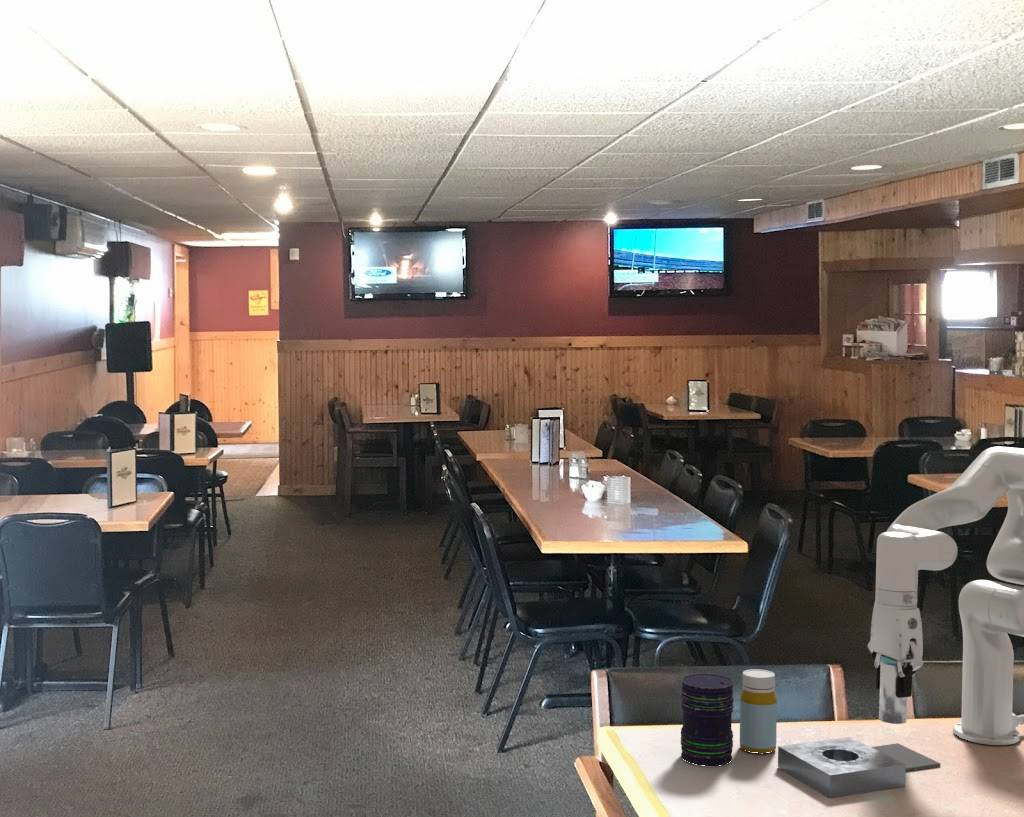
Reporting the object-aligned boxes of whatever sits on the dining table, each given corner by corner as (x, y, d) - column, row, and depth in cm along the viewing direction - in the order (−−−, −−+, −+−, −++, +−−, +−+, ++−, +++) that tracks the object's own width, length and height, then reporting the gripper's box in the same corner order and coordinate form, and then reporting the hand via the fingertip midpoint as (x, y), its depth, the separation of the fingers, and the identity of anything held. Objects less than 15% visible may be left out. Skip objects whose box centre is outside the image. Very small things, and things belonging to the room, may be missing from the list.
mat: (898, 746, 231) (898, 743, 231) (940, 766, 219) (940, 763, 219) (847, 753, 226) (847, 750, 226) (887, 774, 215) (887, 771, 215)
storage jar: (672, 761, 221) (673, 683, 221) (690, 746, 230) (691, 671, 229) (723, 770, 217) (724, 691, 216) (739, 754, 225) (740, 678, 225)
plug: (894, 714, 226) (896, 653, 225) (912, 722, 221) (914, 659, 220) (873, 717, 224) (875, 655, 223) (890, 724, 219) (892, 661, 219)
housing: (849, 757, 224) (849, 736, 224) (904, 786, 209) (905, 764, 209) (777, 767, 218) (778, 746, 218) (829, 797, 204) (830, 775, 203)
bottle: (776, 756, 224) (777, 679, 224) (739, 753, 226) (740, 677, 225) (775, 744, 231) (776, 669, 231) (739, 742, 233) (740, 667, 232)
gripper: (943, 605, 215) (940, 703, 215) (883, 588, 231) (880, 679, 231) (910, 608, 212) (907, 707, 213) (851, 590, 228) (849, 682, 229)
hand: (893, 691), depth 222 cm, fingers closed on plug, 5 cm apart
